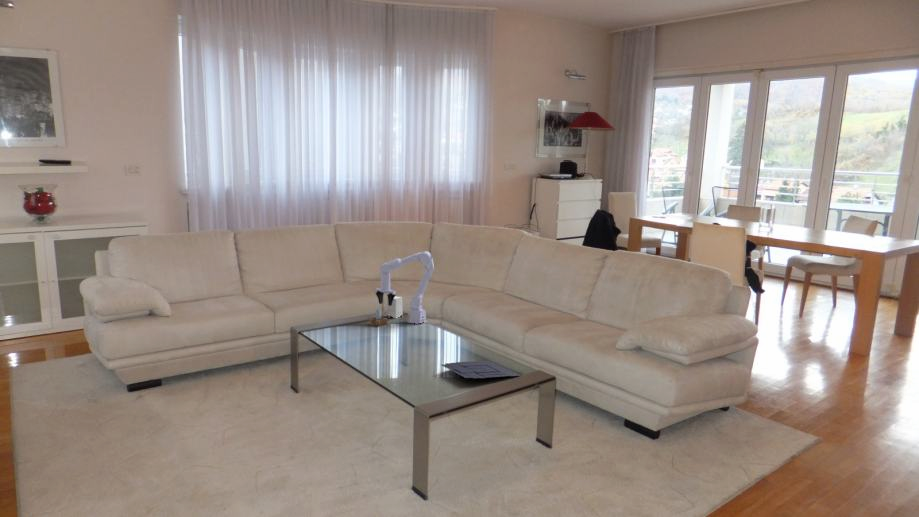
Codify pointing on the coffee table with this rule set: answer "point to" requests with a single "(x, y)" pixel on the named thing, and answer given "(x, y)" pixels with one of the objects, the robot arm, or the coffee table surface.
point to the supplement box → (395, 307)
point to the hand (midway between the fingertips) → (385, 304)
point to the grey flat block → (478, 369)
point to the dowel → (378, 314)
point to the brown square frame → (378, 322)
